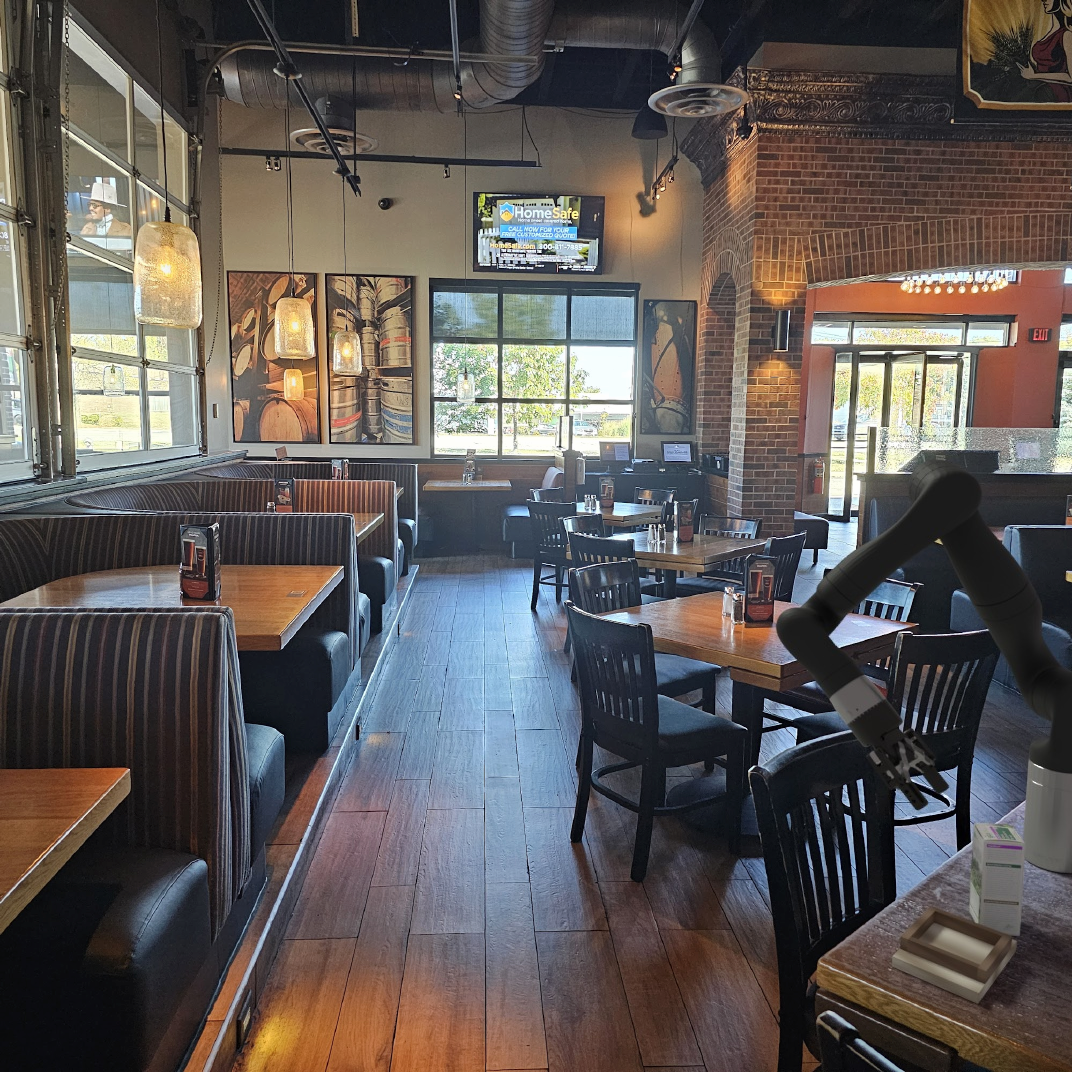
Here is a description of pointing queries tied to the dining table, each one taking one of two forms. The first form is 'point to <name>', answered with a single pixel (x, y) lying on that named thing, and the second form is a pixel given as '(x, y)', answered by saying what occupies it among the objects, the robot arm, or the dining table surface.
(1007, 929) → the syrup box
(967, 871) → the dining table surface
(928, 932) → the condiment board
